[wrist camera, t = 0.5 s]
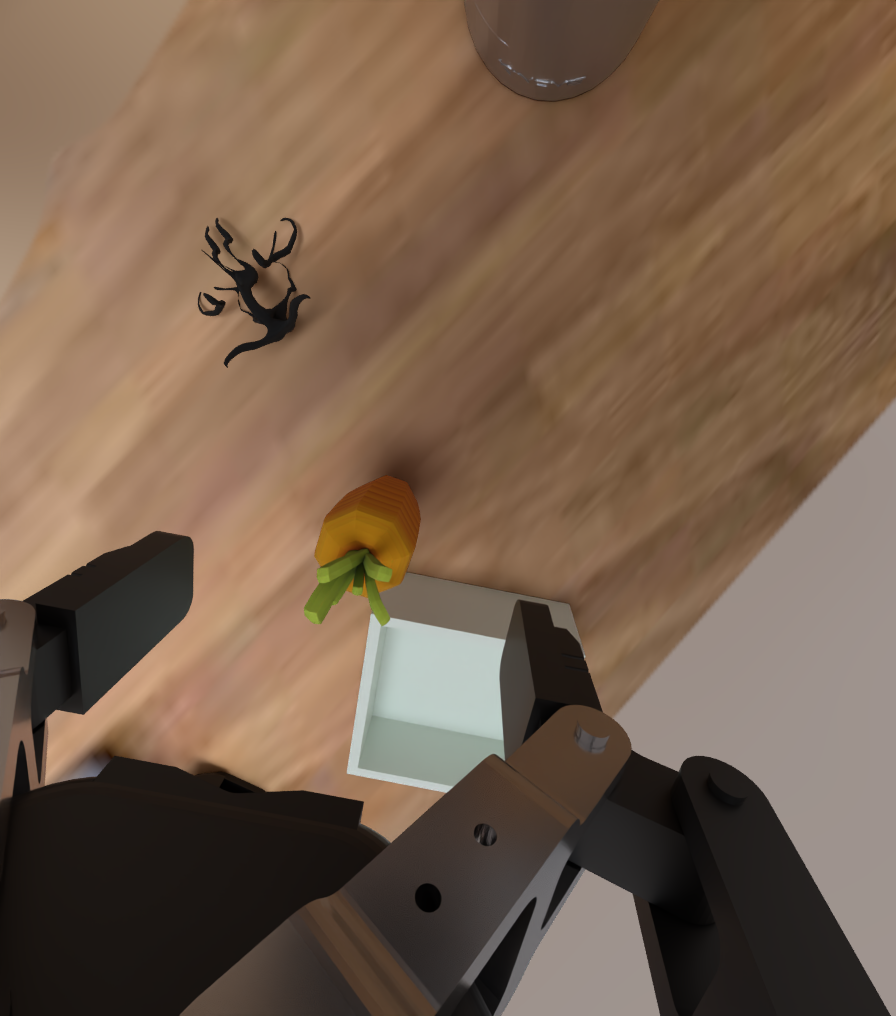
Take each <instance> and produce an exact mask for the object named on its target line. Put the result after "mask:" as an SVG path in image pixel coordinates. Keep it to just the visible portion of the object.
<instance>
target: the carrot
mask: <svg viewBox="0 0 896 1016" xmlns="http://www.w3.org/2000/svg"><path fill="white" fill-rule="evenodd" d="M420 520H421V518H420V511H419V507H418V503H417V500H416V499H415V497H414V495H413V493H412V491H411V489H410V487H409V485H408V483H407V482H405V481H402V480H399V479H397V478H394V477H391V476H388V475H385V476H383V477H381V478H378V479H376V480H374V481H372V482H369V483H367V484H365V485H363V486H361V487H358V488H356V489H355V490H353V491H351V492H349V493H348V494H347V495H346V496H344V497H343V498H342V499H341V500H340V501H339V502H338V503H337V504H336V505H335V507H334V508H333V509H332V510H331V511H330V512H329V513H328V514H327V515H326V517H325V519H324V522H323V525H322V529H321V532H320V536H319V539H318V543H317V546H316V550H315V555H314V556H315V558H316V560H317V561H318V563H319V564H320V566H321V567H320V568H319V569H317V579H318V582H319V585H318V586H317V588H316V589H315V590H314V592H313V593H312V595H311V597H310V598H309V600H308V602H307V604H306V605H305V607H304V613H305V616H306V617H307V618H308V619H309V620H310V621H311V622H312V623H314V624H321V623H322V621H323V620H324V618H325V616H326V615H327V613H328V611H329V609H330V608H331V606H332V605H335V604H337V603H338V602H339V600H340V599H341V597H342V596H343V594H344V593H345V591H349V592H352V593H353V594H354V595H357V596H358V595H360V596H363V597H366V598H368V599H369V603H370V607H371V609H372V611H373V613H374V615H375V617H376V618H377V620H378V622H379V623H380V625H381V626H384V625H386V624H387V623H388V622H389V621H390V616H389V614H388V612H387V610H386V608H385V607H384V605H383V603H382V601H381V598H380V595H379V593H380V592H383V591H385V590H388V589H390V588H393V587H395V586H398V585H400V584H401V583H402V581H403V579H404V576H405V574H406V571H407V568H408V566H409V563H410V560H411V558H412V555H413V552H414V549H415V546H416V542H417V538H418V533H419V527H420Z"/></svg>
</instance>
